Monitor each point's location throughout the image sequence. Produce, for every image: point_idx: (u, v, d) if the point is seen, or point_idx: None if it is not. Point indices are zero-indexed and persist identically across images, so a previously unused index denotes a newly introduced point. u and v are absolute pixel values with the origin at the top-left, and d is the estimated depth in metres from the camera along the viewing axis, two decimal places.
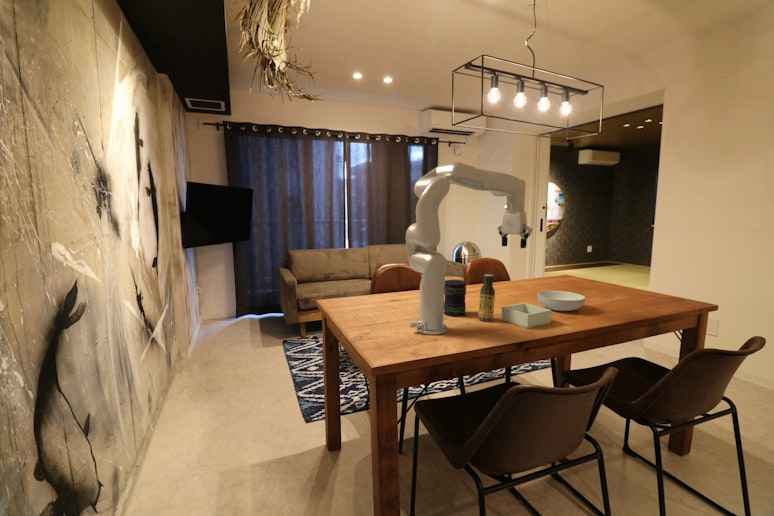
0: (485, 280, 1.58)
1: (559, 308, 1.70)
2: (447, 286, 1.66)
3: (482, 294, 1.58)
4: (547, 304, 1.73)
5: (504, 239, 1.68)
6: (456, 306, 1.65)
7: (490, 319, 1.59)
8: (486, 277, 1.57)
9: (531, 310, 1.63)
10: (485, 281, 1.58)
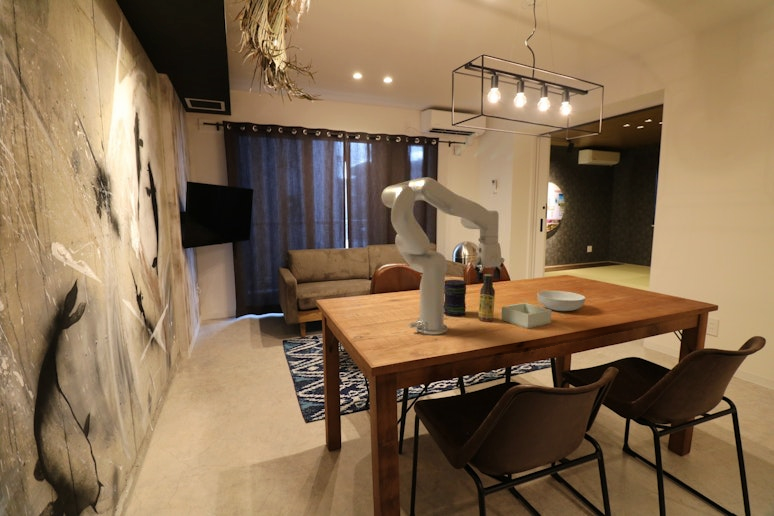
0: (485, 280, 1.58)
1: (559, 308, 1.70)
2: (447, 286, 1.66)
3: (482, 294, 1.58)
4: (547, 304, 1.73)
5: None
6: (456, 306, 1.65)
7: (490, 319, 1.59)
8: (486, 277, 1.57)
9: (531, 310, 1.63)
10: (485, 281, 1.58)
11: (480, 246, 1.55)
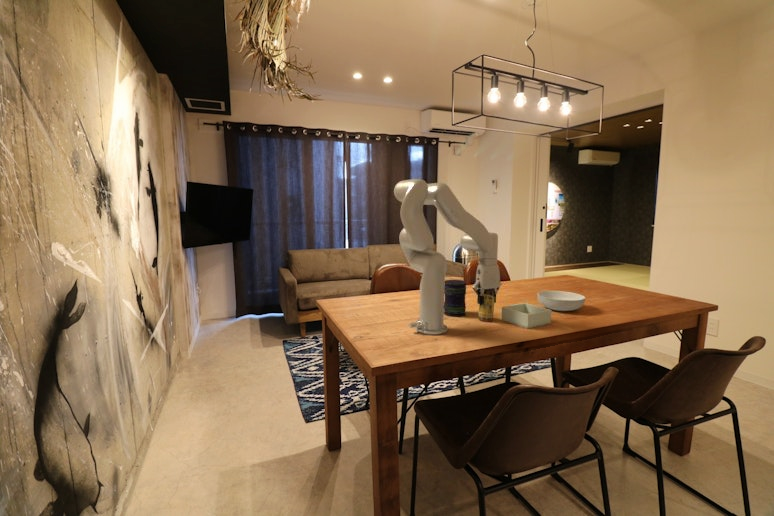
0: None
1: (559, 308, 1.70)
2: (447, 286, 1.66)
3: None
4: (547, 304, 1.73)
5: None
6: (456, 306, 1.65)
7: (490, 319, 1.59)
8: None
9: (531, 310, 1.63)
10: None
11: (479, 268, 1.56)
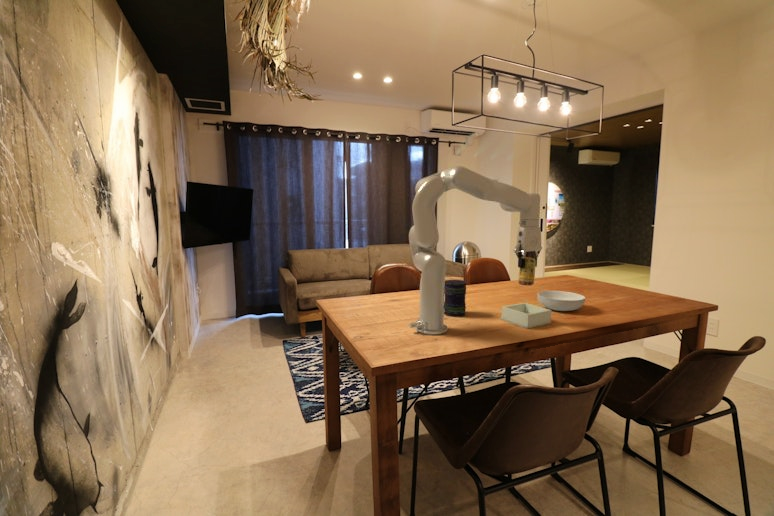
0: None
1: (559, 308, 1.70)
2: (447, 286, 1.66)
3: None
4: (547, 304, 1.73)
5: None
6: (456, 306, 1.65)
7: (531, 283, 1.54)
8: None
9: (531, 310, 1.63)
10: None
11: (521, 229, 1.51)
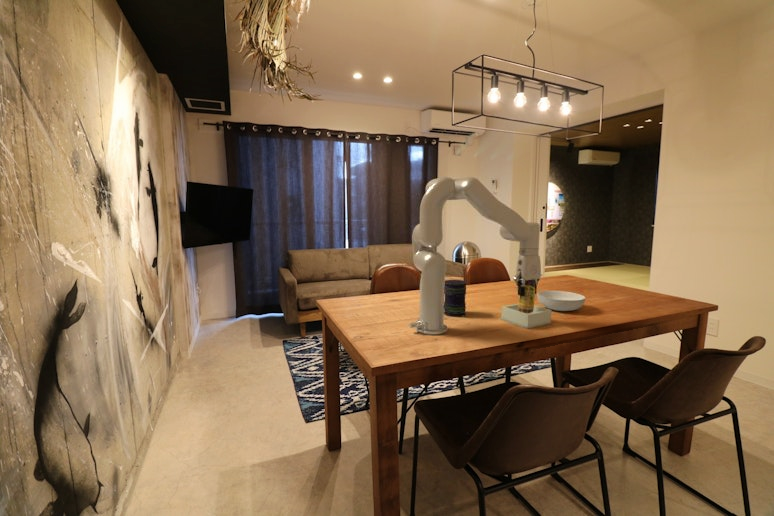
0: None
1: (559, 308, 1.70)
2: (447, 286, 1.66)
3: None
4: (547, 304, 1.73)
5: None
6: (456, 306, 1.65)
7: (531, 311, 1.56)
8: None
9: None
10: None
11: (520, 258, 1.53)
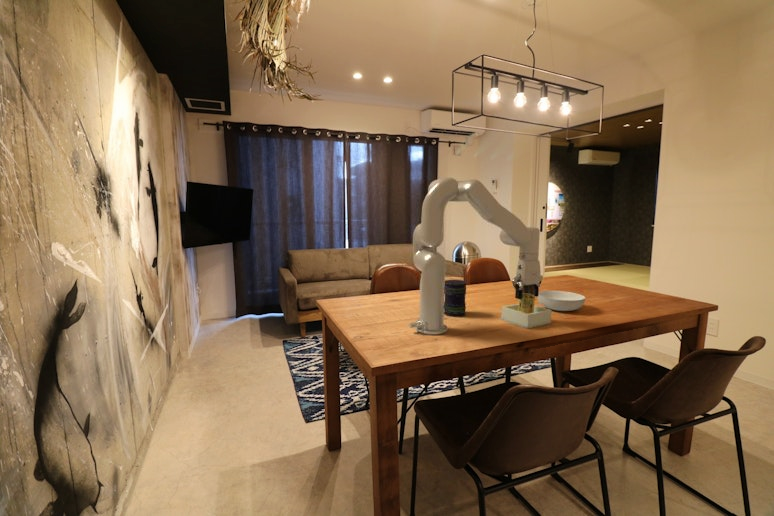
0: None
1: (559, 308, 1.70)
2: (447, 286, 1.66)
3: (522, 293, 1.56)
4: (547, 304, 1.73)
5: None
6: (456, 306, 1.65)
7: None
8: None
9: None
10: None
11: (520, 263, 1.53)
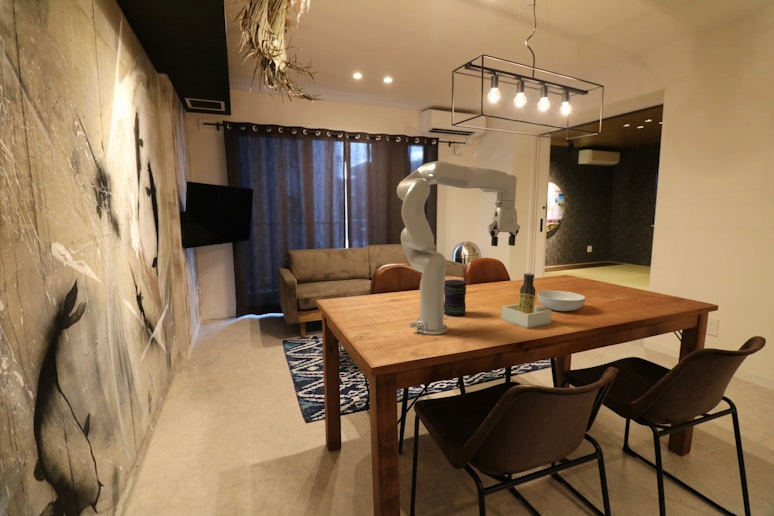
0: (526, 279, 1.55)
1: (559, 308, 1.70)
2: (447, 286, 1.66)
3: (522, 293, 1.55)
4: (547, 304, 1.73)
5: None
6: (456, 306, 1.65)
7: None
8: (527, 276, 1.54)
9: None
10: (526, 280, 1.55)
11: (496, 210, 1.55)
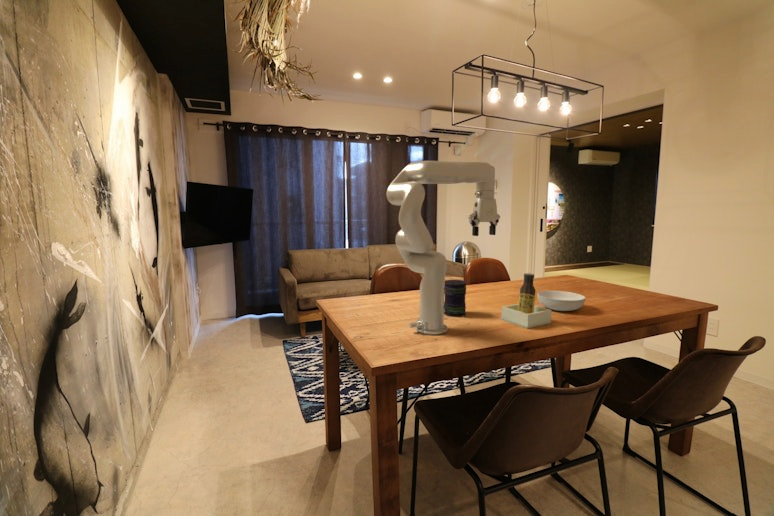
0: (526, 279, 1.55)
1: (559, 308, 1.70)
2: (447, 286, 1.66)
3: (522, 293, 1.55)
4: (547, 304, 1.73)
5: None
6: (456, 306, 1.65)
7: None
8: (527, 276, 1.54)
9: None
10: (526, 280, 1.55)
11: (476, 200, 1.58)
